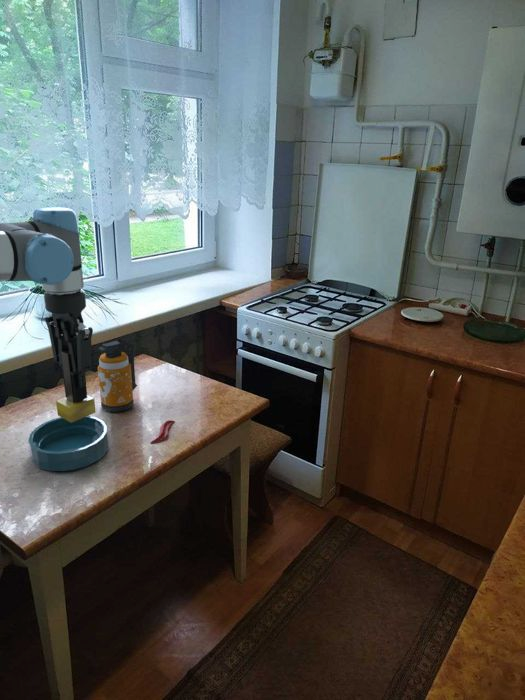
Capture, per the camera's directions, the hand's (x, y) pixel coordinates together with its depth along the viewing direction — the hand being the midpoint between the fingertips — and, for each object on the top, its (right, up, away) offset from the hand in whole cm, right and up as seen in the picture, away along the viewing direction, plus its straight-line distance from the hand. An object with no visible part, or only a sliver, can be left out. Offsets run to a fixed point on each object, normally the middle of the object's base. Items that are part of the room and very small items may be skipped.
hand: (76, 397), depth 105 cm
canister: (-2, -6, +39) cm, 39 cm away
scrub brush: (0, -4, +1) cm, 4 cm away
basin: (-7, -15, +16) cm, 23 cm away
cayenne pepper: (+14, -12, +26) cm, 31 cm away
